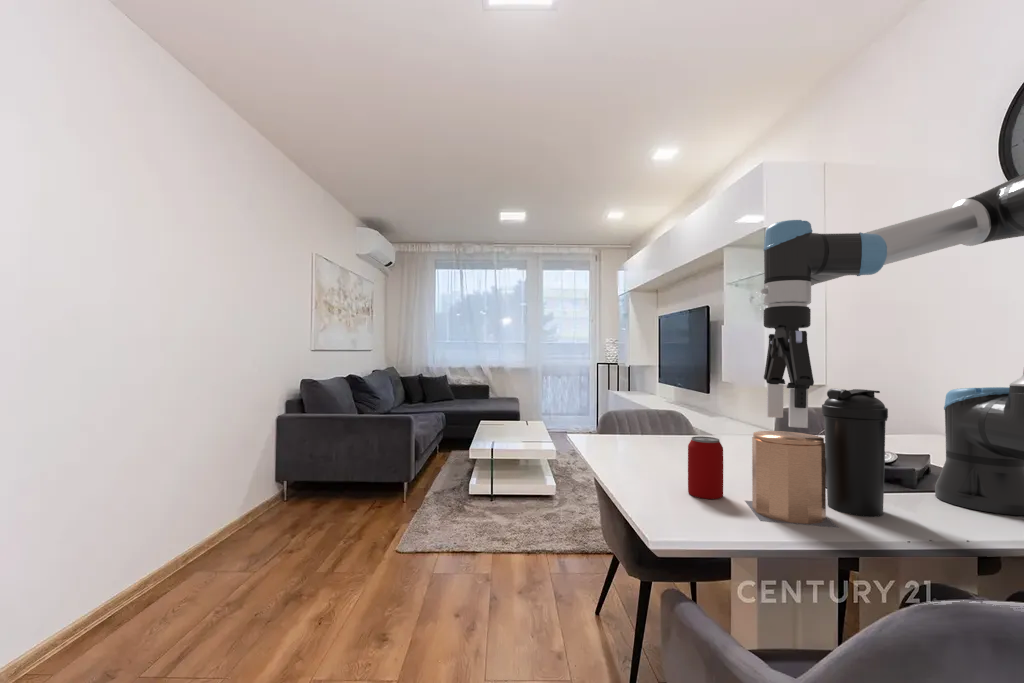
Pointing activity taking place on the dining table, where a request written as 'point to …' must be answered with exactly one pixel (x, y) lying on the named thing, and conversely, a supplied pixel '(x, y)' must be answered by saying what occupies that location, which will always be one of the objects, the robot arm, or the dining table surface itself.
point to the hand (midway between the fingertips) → (785, 422)
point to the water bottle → (855, 451)
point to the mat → (762, 518)
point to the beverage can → (705, 468)
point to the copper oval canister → (789, 476)
